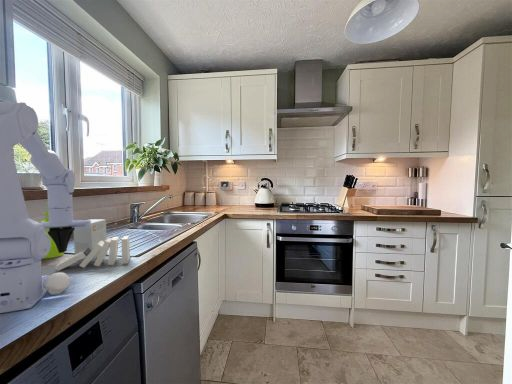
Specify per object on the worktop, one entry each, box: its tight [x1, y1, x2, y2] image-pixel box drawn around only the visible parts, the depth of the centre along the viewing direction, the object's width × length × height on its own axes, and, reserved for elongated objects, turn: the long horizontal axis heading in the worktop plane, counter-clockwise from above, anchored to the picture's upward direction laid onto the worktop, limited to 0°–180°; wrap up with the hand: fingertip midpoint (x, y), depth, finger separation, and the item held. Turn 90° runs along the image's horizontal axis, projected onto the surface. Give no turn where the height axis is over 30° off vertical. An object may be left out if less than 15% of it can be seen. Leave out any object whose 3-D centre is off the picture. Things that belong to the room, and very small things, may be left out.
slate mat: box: [41, 256, 132, 277], centre depth 73 cm, size 9×24×1 cm, turn 111°
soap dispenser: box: [40, 201, 65, 259], centre depth 83 cm, size 6×7×20 cm
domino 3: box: [94, 237, 112, 266], centre depth 75 cm, size 5×2×8 cm, turn 21°
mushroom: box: [42, 272, 71, 296], centre depth 56 cm, size 5×5×5 cm
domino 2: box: [79, 240, 104, 268], centre depth 74 cm, size 5×2×8 cm
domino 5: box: [121, 235, 131, 264], centre depth 77 cm, size 5×2×8 cm, turn 21°
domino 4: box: [108, 236, 120, 265], centre depth 76 cm, size 5×2×8 cm, turn 21°
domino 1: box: [55, 248, 91, 271], centre depth 72 cm, size 5×2×8 cm
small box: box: [73, 218, 108, 261], centre depth 83 cm, size 8×6×13 cm
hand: (62, 251), depth 71 cm, fingers closed
